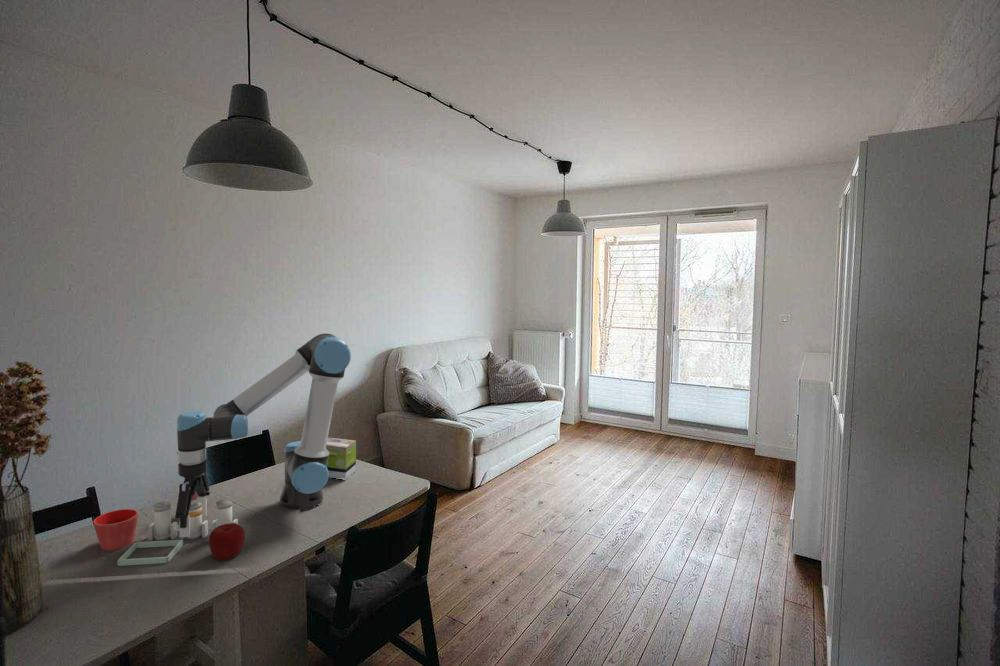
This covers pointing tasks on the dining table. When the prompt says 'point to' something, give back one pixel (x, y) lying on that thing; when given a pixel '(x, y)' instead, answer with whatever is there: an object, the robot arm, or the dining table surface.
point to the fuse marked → (195, 519)
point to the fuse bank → (175, 536)
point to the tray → (155, 560)
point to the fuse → (162, 520)
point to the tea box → (341, 457)
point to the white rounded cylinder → (224, 512)
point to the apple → (226, 541)
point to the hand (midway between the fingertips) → (193, 525)
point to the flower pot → (116, 528)
